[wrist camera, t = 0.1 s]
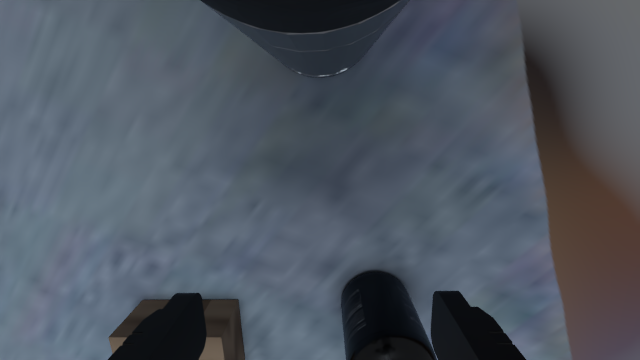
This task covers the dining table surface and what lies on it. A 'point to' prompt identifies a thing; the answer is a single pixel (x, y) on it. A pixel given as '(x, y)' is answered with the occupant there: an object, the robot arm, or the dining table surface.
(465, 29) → the dining table surface
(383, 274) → the supplement bottle
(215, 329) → the walnut block
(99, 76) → the dining table surface
